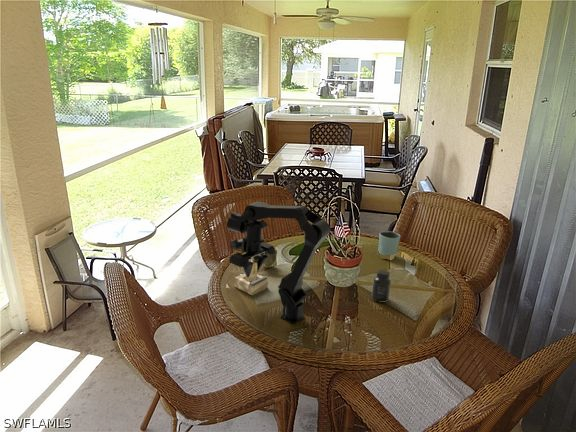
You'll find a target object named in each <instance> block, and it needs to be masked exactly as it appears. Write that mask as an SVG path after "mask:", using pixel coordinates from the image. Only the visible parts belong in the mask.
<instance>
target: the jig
mask: <svg viewBox="0 0 576 432" xmlns="http://www.w3.org/2000/svg"><path fill="white" fill-rule="evenodd" d="M234 287H235V288H237V289H239V290H241V291H242V292H244V293H246V294H248V295H250V296H254V295H256V294H258V293H260V292H262V291H264V290H266V289H268V287H269V279H268V276H266V275H264V276H262V275H261V274H258V273H257V279H256V280H255V281H248V280H246V274H245V272H244V273H242V274H240V275H238V276H234Z"/></svg>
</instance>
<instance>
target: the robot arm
mask: <svg viewBox="0 0 576 432" xmlns="http://www.w3.org/2000/svg"><path fill="white" fill-rule="evenodd" d="M268 218H269V219H293V220H295V221H297V223H298V225H299V226H300V228H301V231H302V232H303V233H304V234H305V235H304V239H303V240H304V244H303V247H302V249H301V251H300V253H299V255H298V258H297V260H296V262H295V263H294V266H293V269H292V270H291V272H289V273H288V274H287V275H284V276H283V277H282V278H281V280H280V283H279V285H278V286H277V288H278V294H279V297H280V301H281V304H282V314H281V315H280V318H281V319H283V320H285V321H288V322H289V323H291V324H292V325H295V324H297V323H298V322H300V321H301V320H303V319H304V318H305V317H306V316H305V315H304V314H303V313H304V312H303V309H304V303H303V301H305V300H306V299H307V296H308V295H307V292H306V291H305V290H304V289H303V288H302V287H303V283H304V282H303V278H304V275H305V274H306V272H307V270H308V268H309V265H310V263H311V261H312V259H313V257H314V256H315V253H316V251H317V250H318V248H319V246H320V245H321V244H322V243H323V242H324V241H325V239H327V238H328V236H329V234H330V233H331V229H332V228H331V226H330V224H329V223H328V222H327V221H326V220H324V219H323V218H322V217H321V216H320V215H318V214H317V213H315V212H314V211H312V210H311V209H310V208H308V207H307V206H306V205H272V204H269V203H267V202H263V201H255V202H252V203H250V204H248V205H245V207H244V211H243V213H238V212H237V211H234V212H233V211H232V212H231V213H230V216H229V218H228V219H227V222H226V226H227V227H226V228H227V229H228V230H230V231H233V232H236V233H240V234H244V233H245V237H244V238H240V239H231V241H230V249H231V250H234V251H238V250H240V251H241V252H242V253H244V254H242V253H240V252H236V253H233V254H231V255H230V256H229V263H230V264H232V265H234V266H236V267H238V268H243V270H244V273H245V274H246V276H247V277H249V276H250V273H251V270H252V267H253V262H251V259H252V258H253V259H254V260H257V261H258V265H257V273H258V272H259V270H260V268H261V267H262V265H264V264H263V263H264V261H265V260H266V258H268V256H267V255H265V251H268V254H269V255H271V254H273V253H274V250H276V248H275V247H274V245H273V244H270V243H267V242H265V239H264V238H262V237H263V236H262V235H263V229H264V228H267V227H268V226H269V224H268V223H267V222H266V221H265V220H264V219H268Z"/></svg>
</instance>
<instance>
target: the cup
mask: <svg viewBox="0 0 576 432" xmlns="http://www.w3.org/2000/svg"><path fill="white" fill-rule="evenodd" d="M265 255H267V256H268V258H266V260H265V261H264V263H263V264H262V265H263V267H264V268H266V269H272V267H273V265H274V264H275V263H276V260H277V255H278V250H277V249H275V250H274V253H273V254H271V255H269V254H268V251H265Z"/></svg>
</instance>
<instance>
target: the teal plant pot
mask: <svg viewBox="0 0 576 432" xmlns="http://www.w3.org/2000/svg"><path fill="white" fill-rule="evenodd" d="M378 236H379V238H378V239H379V240H378V249H377V252H378V251H379V253H380V254H382V255H393V254H395V253H396V254H397V252H396V251H398V248H399V242H400V240H401V235H400V234H399V233H397V232H394V231H390V230H384V231H380V232H379V234H378Z"/></svg>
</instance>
